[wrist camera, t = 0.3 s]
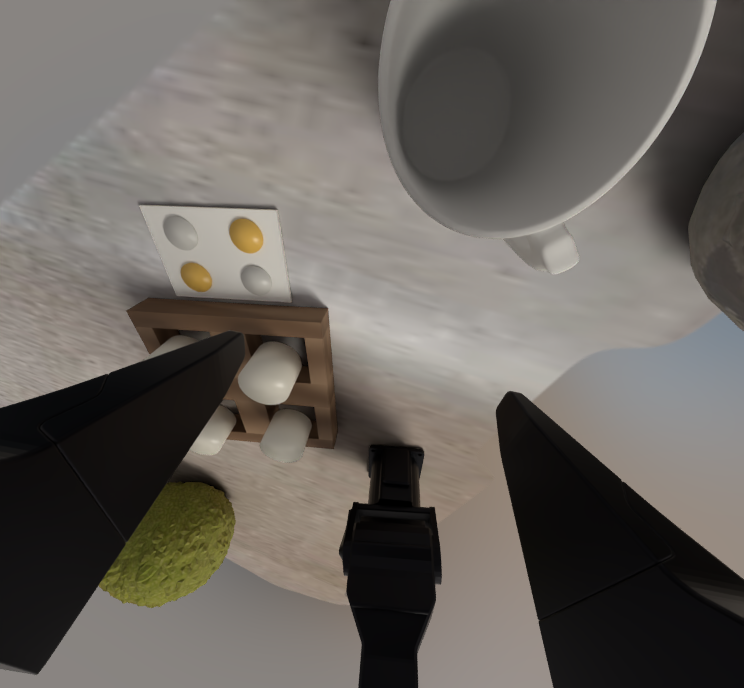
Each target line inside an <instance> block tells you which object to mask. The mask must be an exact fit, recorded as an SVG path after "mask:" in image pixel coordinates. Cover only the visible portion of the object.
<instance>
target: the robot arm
mask: <svg viewBox="0 0 744 688" xmlns="http://www.w3.org/2000/svg"><path fill="white" fill-rule="evenodd" d="M244 358H245V341H244V335H243V333H241V332H237V331H233V330H229V331H226V332H223V333H220V334H217V335H215V336H212V337H209V338H206V339H203V340H201V341H198V342H195V343H192V344H189V345H187V346H184V347H181V348H178V349H175V350H172V351H170V352H167V353H164V354H161V355H158V356H156V357H153V358H150V359H147V360H144V361H142V362H139V363H136V364H133V365H130V366H127V367H125V368H122V369H119V370H116V371H113V372H111V373H109V375H108V374H105V375H102V376H99V377H96V378H94V379H91V380H88V381H85V382H82V383H79V384H76V385H73V386H70V387H67V388H64V389H61V390H58V391H55V392H52V393H49V394H45V395H42V396H39V397H36V398H32V399H29V400H26V401H22V402H19V403H16V404H12V405H9V406H6V407H2V408H0V669H4V670H10V671H16V672H22V673H28V674H34V675H37V674H38V673H39V672H40V671H41V669H42V668H43V666H44V665H45V664H46V663H47V661H48V660H49V658H50V657H51V655H52V654H53V652H54V651H55V649H56V648H57V646H58V645H59V643H60V642H61V640H62V639H63V637H64V636H65V634H66V633H67V631H68V630H69V629H70V627H71V626H72V624H73V622H74V621H75V620H76V618H77V616H78V615H79V614H80V612H81V611H82V609H83V608H84V606H85V605H86V603H87V602H88V600H89V599H90V597H91V596H92V594H93V593H94V591H95V590H96V588H97V587H98V585H99V584H100V582H101V581H102V579H103V578H104V576H105V575H106V573H107V572H108V570H109V569H110V567H111V566H112V564H113V563H114V562H115V560H116V559H117V557H118V556H119V554H120V553H121V551H122V550H123V548H124V547H125V545H126V542H128V540H129V539H130V537H131V536H132V534H133V533H134V531H135V530H136V528H137V527H138V525H139V524H140V522H141V521H142V519H143V518H144V516H145V515H146V513H147V512H148V510H149V509H150V508H151V506H152V505H153V503H154V502H155V500H156V499H157V497H158V496H159V494H160V493H161V491H162V490H163V488H164V487H165V485H166V484H167V482H168V481H169V479H170V478H171V476H172V475H173V473H174V472H175V470H176V469H177V467H178V466H179V464H180V463H181V461H182V460H183V458H184V457H185V455H186V454H187V452H188V451H189V449H190V448H191V446H192V445H193V443H194V442H195V441H196V439H197V438H198V436H199V435H200V433H201V432H202V430H203V429H204V427H205V426H206V424H207V423H208V421H209V420H210V418H211V417H212V415H213V414H214V412H215V411H216V409H217V408H218V406H219V405H220V403H221V402H222V400H223V399H224V397H225V395H226V393H227V391H228V390H229V388H230V386H231V384H232V382H233V380H234V378H235V376H236V374H237V372H238V370H239V368H240V366H241V364H242V362H243V360H244ZM496 419H497V428H498V436H499V446H500V453H501V458H502V463H503V468H504V472H505V476H506V480H507V485H508V489H509V494H510V498H511V503H512V507H513V512H514V516H515V520H516V525H517V529H518V533H519V538H520V542H521V547H522V551H523V555H524V559H525V564H526V568H527V573H528V577H529V581H530V586H531V590H532V595H533V599H534V603H535V607H536V612H537V617H538V619H539V620H540V621H539V626H540V631H541V635H542V640H543V644H544V648H545V652H546V657H547V661H548V665H549V670H550V675H551V679H552V683H553V687H554V688H744V579H743V578H741V577H740V576H739V575H738V574H736V573H735V572H734V571H733V570H731V569H730V568H729V567H727V566H726V565H725V564H724V563H722V562H721V561H720V560H719V559H717V558H716V557H715V556H714V555H712V554H711V553H710V552H708V551H707V550H706V549H705V548H703V547H702V546H701V545H700V544H699V543H697V542H696V541H695V540H693V539H692V538H691V537H690V536H688V535H687V534H686V533H684V532H683V531H682V530H681V529H680V528H678V527H677V526H676V525H675V524H674V523H672V522H671V521H670V520H669V519H667V518H666V517H665V516H664V515H662V514H661V513H660V512H659V511H657V510H656V509H655V508H654V507H653V506H652V505H650V504H649V503H648V502H647V501H646V500H644V499H643V498H642V497H641V496H640V495H639V494H637V493H636V492H635V491H634V490H633V489H631V488H630V487H629V486H628V485H627V484H626V483H625V482H622V481H621V479H620V478H619V477H618V476H617V475H615V474H614V473H613V472H612V471H611V470H610V469H608V468H607V467H606V466H605V465H604V464H602V462H600V461H599V460H598V459H597V458H596V457H595V456H593V455H592V454H591V453H590V452H589V451H587V450H586V449H585V448H584V447H583V446H582V445H581V444H580V443H578V442H577V441H576V440H575V439H574V438H572V437H571V436H570V435H569V434H568V433H567V432H566V431H564V430H563V429H562V428H561V427H560V426H559V425H558V424H556V423H555V422H554V421H553V420H552V419H551V418H549V417H548V416H547V415H546V414H545V413H543V411H541V410H540V409H539V408H538V407H537V406H536V405H534V404H533V403H532V402H531V401H530V400H529V399H528V398H526V397H525V396H524V395H523V394H521V393H518V392H513V391H509V392H507V393H506V394H505V396H504V397H503V399H502V400H501V402H500V403H499V405H498V407H497V409H496ZM423 459H424V451H423V450H422V449H412V448H401V447H390V446H379V445H371V446H370V447H369V477H370V478H371V480H370V490H369V500H368V504H362V503H359V502H353V507H352V509H351V510H349V514H348V521H347V526H346V530H345V533H344V536H343V539H342V542H341V545H340V548H339V555H340V557H341V558H342V560H343V573H344V576H348V579H347V596H348V600H349V603H350V606H351V609H352V612H353V616H354V619H355V622H356V626H357V629H358V632H359V636H360V639H361V642H362V649H361V662H360V674H359V688H418V667H417V653H418V650H419V648H420V645H421V643H422V640H423V637H424V635H425V632H426V630H427V627H428V625H429V622H430V619H431V616H432V613H433V609H434V605H435V601H436V592H435V584H441V578H442V569H441V552H440V543H439V536H438V528H437V521H436V513H435V507H429V508H426V507H420V489H419V478H420V474H421V469H422V464H423Z"/></svg>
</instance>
